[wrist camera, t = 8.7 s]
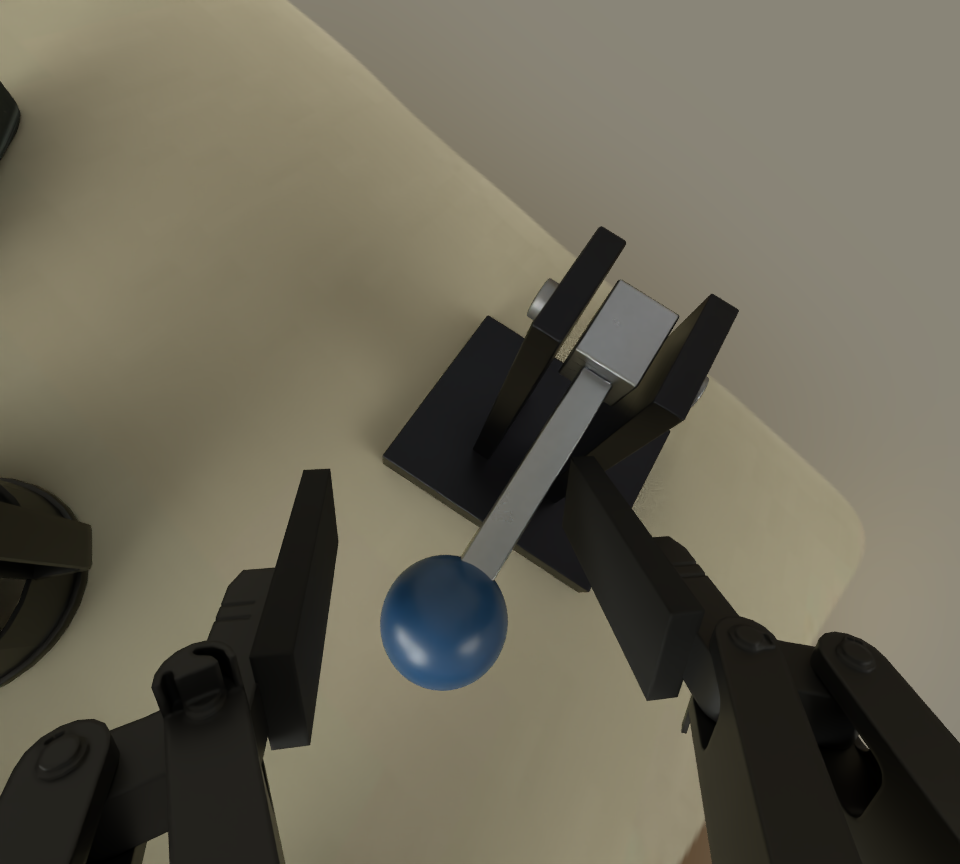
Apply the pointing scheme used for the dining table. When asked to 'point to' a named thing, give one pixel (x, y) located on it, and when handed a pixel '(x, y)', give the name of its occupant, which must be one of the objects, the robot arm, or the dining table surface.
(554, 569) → the black lever stand
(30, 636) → the french press
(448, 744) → the dining table surface
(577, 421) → the blue knobbed lever
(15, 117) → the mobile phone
